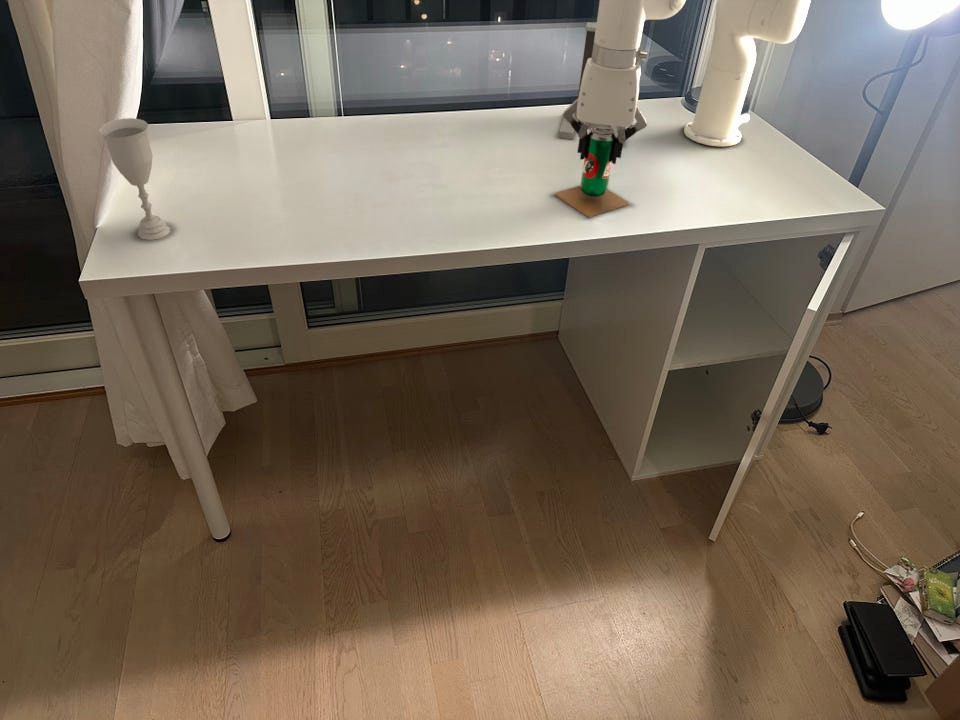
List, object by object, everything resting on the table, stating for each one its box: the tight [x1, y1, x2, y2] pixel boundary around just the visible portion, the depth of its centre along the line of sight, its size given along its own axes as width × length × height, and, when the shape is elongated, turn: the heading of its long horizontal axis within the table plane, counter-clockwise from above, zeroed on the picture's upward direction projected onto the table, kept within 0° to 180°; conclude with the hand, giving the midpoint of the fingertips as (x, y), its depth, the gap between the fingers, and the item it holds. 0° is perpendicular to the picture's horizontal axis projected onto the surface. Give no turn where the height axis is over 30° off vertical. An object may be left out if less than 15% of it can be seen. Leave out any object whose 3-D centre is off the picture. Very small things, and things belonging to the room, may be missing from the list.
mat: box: [554, 185, 630, 218], centre depth 134 cm, size 10×10×1 cm
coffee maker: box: [558, 21, 618, 140], centre depth 153 cm, size 14×14×21 cm
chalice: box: [98, 117, 171, 241], centre depth 112 cm, size 7×7×18 cm
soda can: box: [579, 126, 616, 197], centre depth 129 cm, size 5×5×12 cm
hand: (598, 157), depth 129 cm, fingers closed on soda can, 5 cm apart
